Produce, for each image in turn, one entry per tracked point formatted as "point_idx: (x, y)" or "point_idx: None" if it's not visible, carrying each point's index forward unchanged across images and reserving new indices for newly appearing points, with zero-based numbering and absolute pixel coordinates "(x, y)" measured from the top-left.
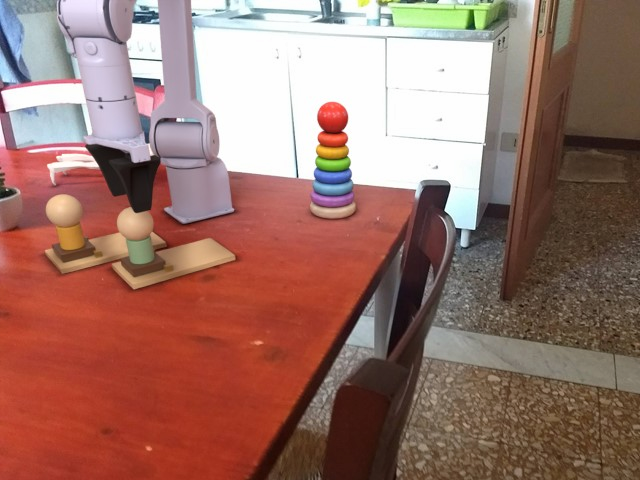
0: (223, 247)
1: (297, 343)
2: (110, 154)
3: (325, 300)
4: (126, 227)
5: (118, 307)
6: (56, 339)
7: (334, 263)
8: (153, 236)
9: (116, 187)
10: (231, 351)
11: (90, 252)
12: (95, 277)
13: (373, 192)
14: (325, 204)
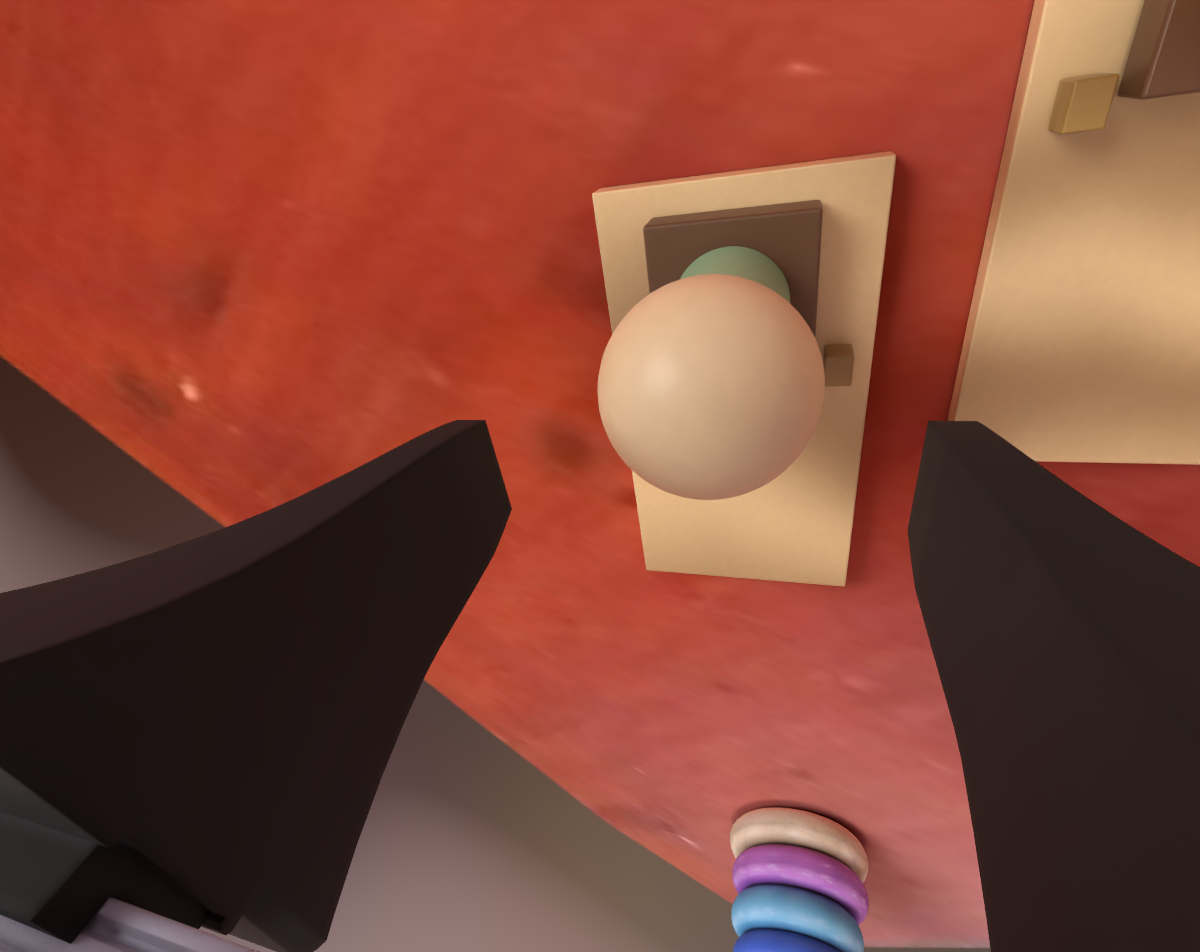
0: (726, 575)
1: (183, 451)
2: (1092, 905)
3: None
4: (622, 322)
5: (470, 80)
6: None
7: (508, 678)
8: (1073, 444)
9: (937, 501)
10: (154, 324)
11: (1139, 53)
12: (853, 28)
13: None
14: (760, 851)
